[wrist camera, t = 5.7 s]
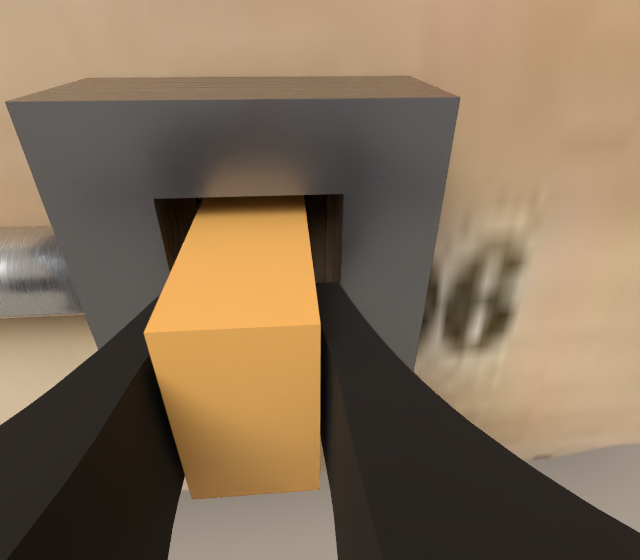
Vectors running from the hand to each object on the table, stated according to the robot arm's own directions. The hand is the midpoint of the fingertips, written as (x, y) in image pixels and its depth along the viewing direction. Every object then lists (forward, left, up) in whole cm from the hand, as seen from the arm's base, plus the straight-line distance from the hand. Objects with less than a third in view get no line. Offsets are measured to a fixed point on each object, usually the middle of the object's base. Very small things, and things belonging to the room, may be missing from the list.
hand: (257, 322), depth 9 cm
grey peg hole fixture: (+4, 0, -4) cm, 6 cm away
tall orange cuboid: (0, 0, -4) cm, 4 cm away
